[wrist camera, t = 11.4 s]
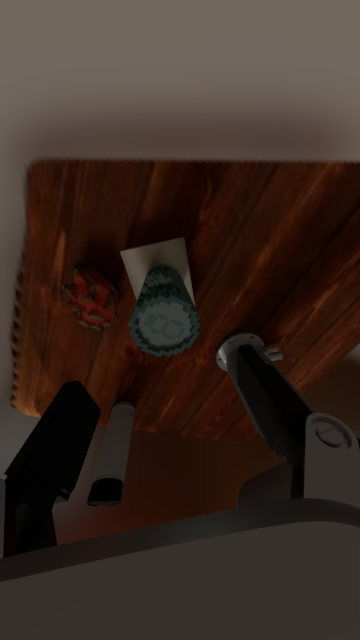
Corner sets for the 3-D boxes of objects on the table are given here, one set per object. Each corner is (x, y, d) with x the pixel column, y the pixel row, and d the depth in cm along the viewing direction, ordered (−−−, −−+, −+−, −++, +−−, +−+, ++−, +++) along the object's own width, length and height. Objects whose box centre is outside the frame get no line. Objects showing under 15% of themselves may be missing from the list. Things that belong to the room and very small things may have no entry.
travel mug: (137, 401, 47) (122, 500, 29) (133, 414, 50) (117, 513, 32) (115, 398, 45) (85, 502, 28) (112, 412, 48) (83, 514, 31)
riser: (181, 237, 28) (184, 237, 24) (191, 300, 34) (195, 308, 30) (125, 249, 28) (120, 251, 24) (145, 310, 34) (143, 319, 30)
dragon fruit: (109, 320, 35) (94, 262, 31) (136, 324, 31) (123, 259, 27) (68, 335, 29) (42, 266, 25) (95, 344, 24) (70, 261, 20)
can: (154, 257, 25) (146, 283, 12) (187, 275, 27) (212, 314, 14) (139, 291, 27) (119, 343, 14) (171, 305, 29) (179, 363, 16)
